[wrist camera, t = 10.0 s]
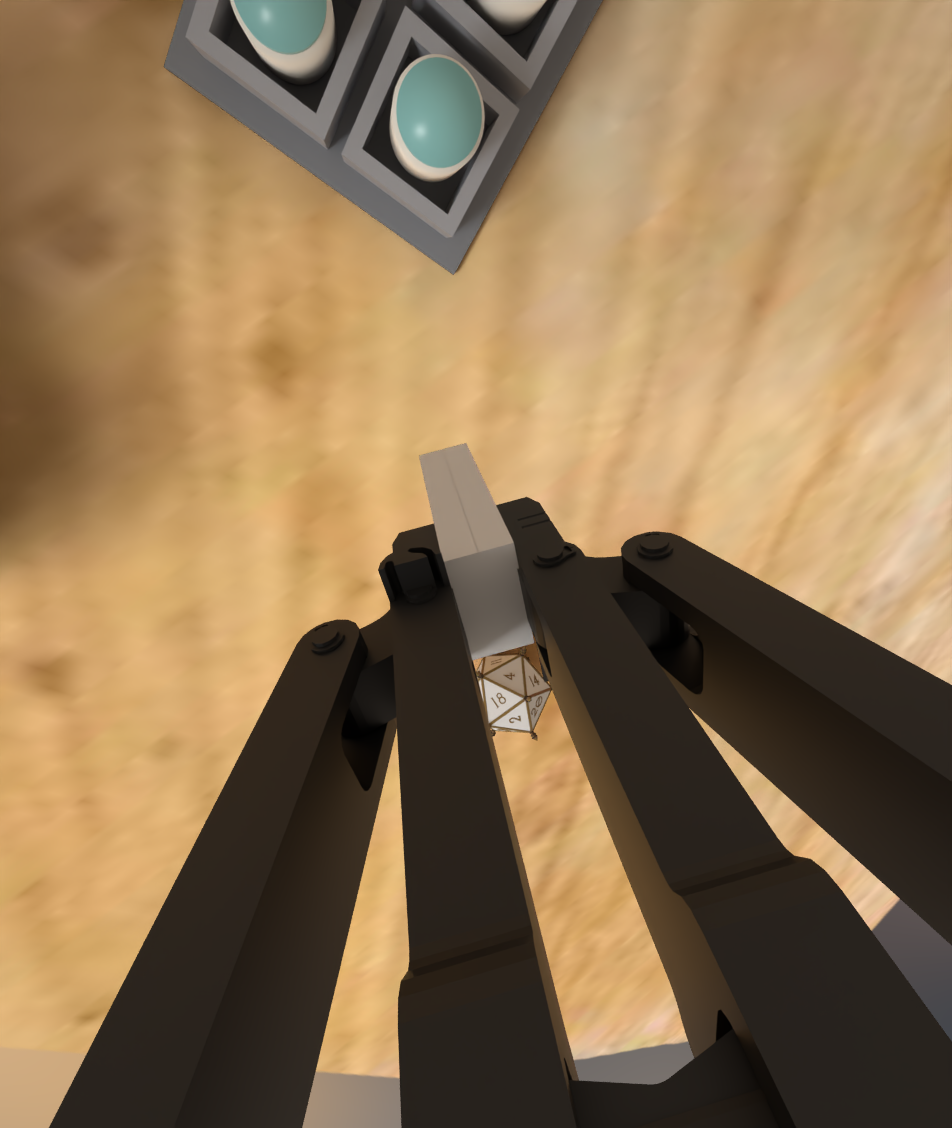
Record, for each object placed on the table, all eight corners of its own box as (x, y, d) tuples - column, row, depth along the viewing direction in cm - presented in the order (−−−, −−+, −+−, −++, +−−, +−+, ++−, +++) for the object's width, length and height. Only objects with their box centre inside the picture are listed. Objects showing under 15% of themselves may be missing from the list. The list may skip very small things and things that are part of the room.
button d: (233, 42, 28) (209, 7, 24) (267, -59, 26) (248, -115, 22) (314, 105, 29) (305, 82, 25) (351, 14, 28) (347, -26, 24)
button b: (374, 146, 29) (375, 130, 25) (414, 57, 28) (422, 24, 24) (444, 200, 31) (455, 193, 27) (485, 119, 29) (503, 98, 25)
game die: (491, 626, 56) (533, 626, 46) (543, 685, 57) (594, 696, 48) (429, 689, 53) (460, 702, 44) (485, 750, 54) (528, 775, 45)
